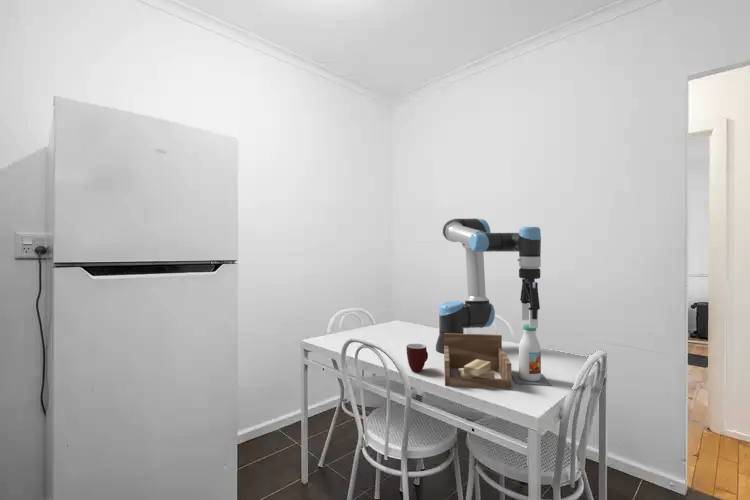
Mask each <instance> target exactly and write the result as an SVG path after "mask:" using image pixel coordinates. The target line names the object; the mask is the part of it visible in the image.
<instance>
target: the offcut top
mask: <svg viewBox="0 0 750 500" xmlns="http://www.w3.org/2000/svg"><path fill="white" fill-rule="evenodd" d="M489 369H491V362H489V361H484V360H479V359H476V360H474V361H472V362H471V363H469V364H467V365H465V366H464V373H466V374H470V375H475V376H479V375H481V374H483V373H484V372H486V371H487V370H489Z"/></svg>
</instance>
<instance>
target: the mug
mask: <svg viewBox="0 0 750 500" xmlns="http://www.w3.org/2000/svg"><path fill="white" fill-rule="evenodd" d="M406 356H407V364H408V366H409V368H410V370H411V371H412V372H414V373H420V372H422V370H423V368H424V367H425V364H426V361H427V360H428V358H429V353H428V351H427V345H426V344H424V343H423V344H422V343H408V344H407V345H406Z"/></svg>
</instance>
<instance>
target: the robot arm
mask: <svg viewBox="0 0 750 500" xmlns="http://www.w3.org/2000/svg"><path fill="white" fill-rule="evenodd" d="M442 235H443V237H444V238H445V239H446V240H447V241H449V242H452V243H460V244H462V247H463V248H464V249H465V260H466V261H465V263H466V264H465V265H466V266H465V267H466V285H467V287H466V289H467V298H465V300H464V302H463V301H462V300H461V301H460V300H455V301H454V300H453V301H446V302H443V303H441V304H440V305H439V310H438V311H439V312H438V316H439V318H438V319H439V320H438V323H439V326H438V328H439V329H438V330H439V331H438V333H439V334H438V337H437V340H436V343H435V350H436V351H437V352H439V353H441V354H444V333H459V334H465V331H464V329H476V328H477V329H478V328H480V329H482V328H488V327H490V326H491V325H492V324H493V322H494V320H495V317H496V314H495V313H496V311H495V307H494V305H493V304H492V303H490V299H489V298H488V297H487V294H486V293H487V292H486V277H485V276H486V275H485V260H484V259H485V257H484V252H486V253H487V252H488V253H489V252H493V253H494V252H496V253H497V252H505V253H507V252H513V253H514V252H518V254H519V255H518V257H519V258H517V262H518V266H519V267H520V268H519V269H518V278H520V279H521V289H520V290H521V291H520V297H519V300H520V304H521V312H520V313H521V321H528V322H529V324H528V325H529V327H530V328H536V329H539V310H541V306H540V297H539V288H538V285H539V284H538V282H536V281H535V280H537V279H538V280H539V279H541V266H542V265H541V264H542V263H541V262H542V259H541V258H542V257H541V251H542V250H541V247H542V245H541V244H542V235H541V228H540V227H539V226H522V227H520V228H519V230H518V232H491V227H490V225H489V223H488V221H486V220H485V219H483V218H453V219H450V220H448V221H447V222H446V223H445V224H444V225H443V227H442Z"/></svg>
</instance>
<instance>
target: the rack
mask: <svg viewBox="0 0 750 500" xmlns="http://www.w3.org/2000/svg"><path fill="white" fill-rule="evenodd" d="M443 354H444V355H443V356H444V359H443V361H444V363H443V364H444V366H443V367H444V386H447V387H448V386H449V387H464V388H466V387H467V388H479V389H480V388H484V389H500V390H512V389H513V387H512V375H511V372H512V362H511V361H510V359H509V357H508V356H507V354H506V353H505V351H504V349H503V335H502V334H488V333H487V334H486V333H485V334H483V333H464V334H459V333H444V353H443ZM476 359H479V360H484V361H489V362H491V370H493V371H498V373H499V375H500V378H497V377H496V378H478V377H459V376H458V375H450V368H451V369H458V368H464V366H465V365H467V364H469V363H471V362H472V361H474V360H476Z"/></svg>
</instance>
